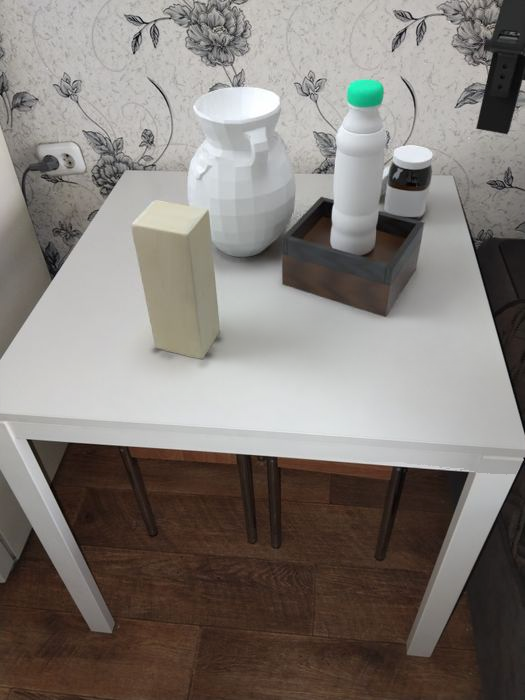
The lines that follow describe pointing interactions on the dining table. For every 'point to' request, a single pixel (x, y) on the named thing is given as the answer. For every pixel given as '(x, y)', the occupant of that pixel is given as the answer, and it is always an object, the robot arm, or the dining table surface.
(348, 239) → the water bottle
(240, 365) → the dining table surface
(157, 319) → the beige rectangular block
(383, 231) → the open rectangular box
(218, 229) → the white vase
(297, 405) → the dining table surface
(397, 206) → the spread jar
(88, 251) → the dining table surface
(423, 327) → the dining table surface
